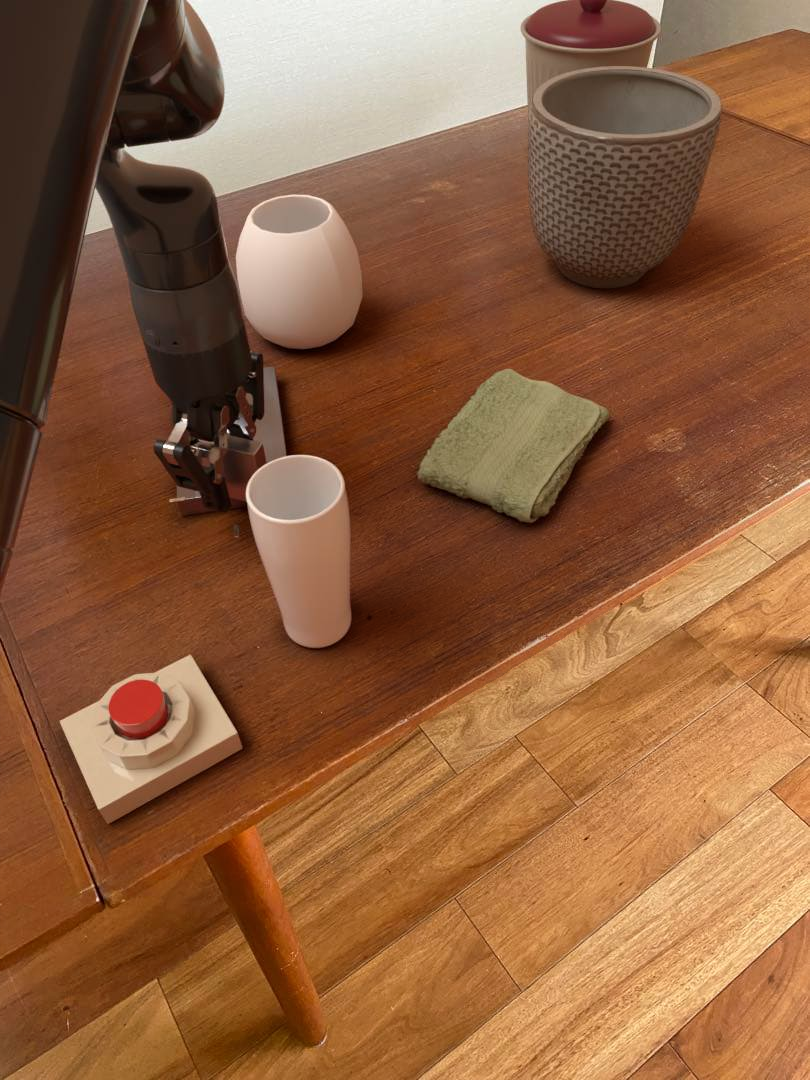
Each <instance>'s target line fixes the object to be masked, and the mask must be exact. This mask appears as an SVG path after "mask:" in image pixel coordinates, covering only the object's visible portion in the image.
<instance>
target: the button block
mask: <svg viewBox="0 0 810 1080" xmlns="http://www.w3.org/2000/svg"><path fill="white" fill-rule="evenodd" d="M134 680H149V681H152V682H154V683H156V684H157V685H158V686H159V687H160V688H161V690H162V693H163V695H164V697H165V699H166V702H167V704H168V707H169V714H168V718H167V720H166V722H165V724H164V725H163V726H162V727H161V729H159V730H158V731H157V732H156V733H154V734H153V735H150V736H148V737H145V738H140V739H132V738H128V737H125V736H124V735H122V734H121V733H120V732H119V731H118V729H117V728H116V726H115V724H114V722H113V720H112V718H111V716H110V714H109V702H110V699H111V697H112V695H113V694H114V693H115V691H116V690H117V689H119V688H120V687H121V686H122V685H124V684H126V683H128V682H131V681H134ZM59 724H60V726H61V728H62V730H63V733H64V735H65V737H66V740H67V742H68V744H69V746H70V749H71V751H72V754H73V755H74V758H75V760H76V762H77V765H78V767H79V769H80V772H81V774H82V776H83V779H84V781H85V783H86V786H87V787H88V790H89V792H90V794H91V796H92V799H93V802H94V803H95V806H96V808H97V810H98V812H99V813H100V815H101V816H102V818H103V820H104V821H105V822H106V825H109V824H111V823H113V822H115V821H117V820H119V819H120V818H121V817H124V816H125V815H127V814H129V813H131V812H133V811H135V810H137V808H140V807H141V806H144V805H145V804H147V803H148V802H150V801H152V800H154V799H156V798H157V797H159V796H161V795H163V794H165V793H166V792H168V791H170V790H171V789H174V788H175V787H177V786H179V785H180V784H182V783H184V782H186V781H188V780H190V779H191V778H193V777H195V776H197V775H198V774H200V773H202V772H204V771H205V770H207V769H209V768H211V767H213V766H214V765H216V764H217V763H219V762H221V761H223V760H225V759H227V758H228V757H230V756H232V755H234V754H236V753H238V752H239V751H241V750H243V744H242V741H241V739H240V735H239V733H238V731H237V729H236V727H235V726H234V724H233V722H232V720H231V719H230V717H229V716H228V713H227V712H226V711H225V709H224V707H223V706H222V704H221V702H220V701H219V699H218V697H217V695H216V694H215V692H214V690H213V689H212V687H211V686H210V684H209V682H208V681H207V679H206V677H205V676H204V674H203V672H202V671H201V669H200V667H199V666H198V664H197V662H196V660H195V659H194V657H193V655H192V654H187V655H186V656H184V657H182V658H180V659H178V660H177V661H175V662H172V663H170V664H169V665H167V666H164V667H162V668H161V669H159V670H156V671H155V672H149V673H148V672H145V673H136V674H135V673H134V674H132V675H131V676H129V677H126V678H124V679H123V680H121V681H118V682H117V683H115V684H112V685H111V686H110V687H109V689H108V690H107V691H106V692H105V693H104V695H103V696H102V697H101V698H100V699H99V700H97V701H96V702H94V703H92V704H90V705H88V706H86V707H84V708H82V709H80V710H77V711H76V712H74V713H72V714H70V715H68V716H66V717H64V718H63V719H61V720H59Z"/></svg>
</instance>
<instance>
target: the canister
mask: <svg viewBox="0 0 810 1080" xmlns="http://www.w3.org/2000/svg"><path fill="white" fill-rule="evenodd" d="M520 32H521V35H522V37H523V38H525V41H524V43H525V69H526V70H525V71H526V97H527V118H528V120H529V109H530V103H531V98H532V95H533V93H534V91H535V90H536V89H537V88H538V87H539V86H540V85H541V84H543V83H544V82H546V81H547V80H549V79H551V78H553V77H555V76H558V75H561V74H564V73H567V72H571V71H575V70H580V69H586V68H594V67H606V66H633V67H645V68H648V67H649V66H648V65H649V62H650V57H651V54H652V49H653V45H654V42H655V41H656V40H657V39H658V38H659V36H661V33H662V25H661V23H660V22H659V21H658V19H656V18H655V17H653V16H652V15H651V14H650V13H649V12H648V11H647V10H645V9H643V8H641V7H640V6H637V5H635V4H632V3H628V2H625V1H620V0H560V1H556V2H553V3H549V4H547V5H544V6H542V7H540V8H538V9H537V10H535V12H533V13H532V14H530V15H528V16H527V17H525V18H524V19H523V20H522V22H521V24H520Z"/></svg>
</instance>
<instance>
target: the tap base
mask: <svg viewBox="0 0 810 1080" xmlns="http://www.w3.org/2000/svg"><path fill="white" fill-rule="evenodd" d="M263 370H264V416H263V419H262V420H256V422H255V426H256V434H255V436H254V438H253V440H254V441H257V442H261V443H263V447H264V452H265V457H266V462H267V463H269V462H271V461H273V460H275V459H278V458H281V457H285V456H288V449H287V443H286V442H287V441H286V436H285V435H286V434H285V429H284V421H283V414H282V407H281V399H280V392H279V384H278V379H277V373H276V367H275V365H271V366H263ZM246 399H247V401H248V403H249V404H252V405H253V397H252V395H251V394H249V393H246ZM227 435H229V433H227ZM168 500H169V501H168V502H169V504H173V503H174V504H175V503H177V506H178V510H179V512H180V513H179V514H180V515H181V517H186V516H193V515H201V514H206V513H207V514H208V513H213V512H216V511H215V510H211V509H207V508H205V507H204V506H203V502H202V499H201V495H200V492H198V491H194V490H190V489H186V488H182V487H179V486H177V485H176V497H175V498H174V497H173V498H169V499H168ZM230 501H231V505H232V506H231V507H230V509H229V510H234V509H241V508H246V507H247V508H248V506H247V502H246V501H242V500H238V499H234V498H230ZM233 533H234V534H233V535H234V539H238V538H240V530H239V524H234V525H233Z"/></svg>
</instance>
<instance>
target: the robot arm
mask: <svg viewBox="0 0 810 1080" xmlns="http://www.w3.org/2000/svg"><path fill="white" fill-rule="evenodd" d="M225 89H226V87H225V78H224V71H223V68H222V63H221V59H220V56H219V54H218V51H217V48H216V45H215V43H214V40H213V39H212V35H210V32H209V31H208V29H207V27H206V25H205V24H204V22H203V20H202V19H201V18H200V16H199V14H198V13H197V11H196V10H195V9H194V8H193V6H192V5H191V3H189V1H188V0H0V596H1V595H2V591H3V588H4V583H5V581H6V577H7V574H8V570H9V568H10V567H9V566H10V564H11V561H12V557H13V552H14V551H13V550H12V549H14V548H15V546H16V541H17V536H18V534H19V529H20V525H21V521H22V517H23V512H24V508H25V506H26V501H27V497H28V493H29V488H30V485H31V481H32V478H33V477H32V476H33V472H34V469H35V465H36V460H37V456H38V452H39V448H40V444H41V441H42V436H43V433H42V432H41V429H42V428H43V427H44V426H45V425H46V420H47V416H48V411H49V406H50V401H51V397H52V393H53V388H54V383H55V378H56V372H57V368H58V364H59V359H60V354H61V349H62V344H63V341H64V336H65V330H66V325H67V322H68V321H67V320H68V317H69V311H70V306H71V301H72V298H73V293H74V288H75V283H76V278H77V273H78V268H79V264H80V259H81V255H82V250H83V245H84V240H85V235H86V231H87V226H88V221H89V217H90V213H91V208H92V203H93V199H94V194H95V190H96V192H97V194H98V196H99V197H100V200H101V202H102V204H103V207H104V208H105V211H106V213H107V216H108V218H109V221H110V223H111V227H112V229H113V233H114V235H115V238H116V242H117V245H118V249H119V253H120V255H121V259H122V262H123V265H124V269H125V272H126V276H127V280H128V285H129V294H130V300H131V304H132V308H133V313H134V315H135V319H136V322H137V325H138V329H139V332H140V336H141V339H142V342H143V345H144V349H145V352H146V355H147V358H148V362H149V366H150V369H151V372H152V376H153V379H154V381H155V383H156V385H157V386H158V388H159V389H161V391H162V392H163V393H164V394H165V395H166V396H167V397H168V399H169V400H170V401H171V406H172V415H171V420H172V423H173V425H174V427H173V429H172V431H171V432H170V435H169V436H168V438H167V440H166V439H162V438H158V439H156V441H155V442H154V444H153V452H154V454H155V456H156V457H157V458H158V461H160V463H161V464H162V466H163V467H164V468H165V470H166V471H167V473H168V474H169V476H170V477H171V478H172V480H173V481H174V483H175V485H176V487H177V486H179V487H182V488H186V489H190V490H194V491H198V492H200V495H201V499H202V502H203V506H204V507H205V508H207V509H211V510H215V511H214V512H219V513H224V514H226V513H228V512H229V511H230V510H231V509H230V507H231V506H232V505H231V501H230V497H229V493H228V489H227V485H226V481H225V477H223V456H225V455H226V454H227V452H228V444H227V433H229V435H231V436H235V437H239V438H244V439H248V440H252V441H254V440H253V438H254V436H255V434H256V426H255V422H256V420H262V419H263V416H264V370H263V367H264V356H263V354H262V353H258V352H254V351H251V347H250V342H249V337H248V332H247V327H246V322H245V317H244V316H245V315H244V310H243V305H242V300H241V295H240V290H239V285H238V281H237V279H236V277H235V273H234V271H233V268H232V265H231V263H230V259H229V254H228V253H229V252H228V248H227V244H226V239H225V233H224V228H223V224H222V219H221V213H220V209H219V205H218V200H217V195H216V193H215V190H214V188H213V185H212V184H211V182H210V181H209V180H208V178H207V177H206V176H205V175H203V174H202V173H201V172H198V171H196V170H193V169H191V168H187V167H181V166H175V165H168V164H157V163H151V162H145V161H143V160H139V159H137V158H135V157H134V155H131V154H130V153H129V152H128V151H127V150H126V149H125V148H126V147H127V148H133V147H141V146H147V145H154V144H162V143H169V142H176V141H183V140H189V139H192V138H193V139H194V138H197V137H199V136H201V135H203V134H205V133H206V132H208V131H209V130H211V129H212V127H214V125H216V123H217V122H218V120H219V118H220V117H221V114H222V112H223V108H224V104H225V92H226V91H225ZM246 393H249V394H251V395H252V397H253V405H252V404H249V403H248V401H247V399H246ZM198 439H199V440H203V441H208V442H214V444H210V443H206V442H201V441H199V440H198ZM202 457H204V458H207V459H209V461H210V467H206V466H202Z"/></svg>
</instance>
